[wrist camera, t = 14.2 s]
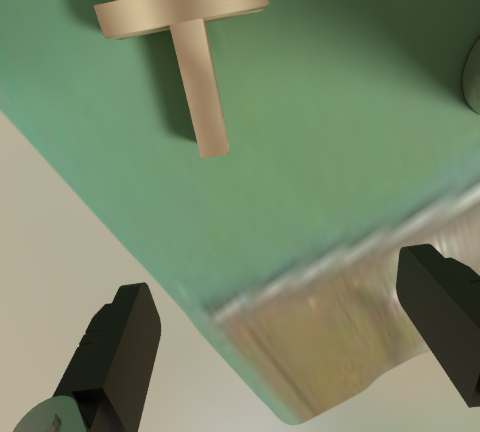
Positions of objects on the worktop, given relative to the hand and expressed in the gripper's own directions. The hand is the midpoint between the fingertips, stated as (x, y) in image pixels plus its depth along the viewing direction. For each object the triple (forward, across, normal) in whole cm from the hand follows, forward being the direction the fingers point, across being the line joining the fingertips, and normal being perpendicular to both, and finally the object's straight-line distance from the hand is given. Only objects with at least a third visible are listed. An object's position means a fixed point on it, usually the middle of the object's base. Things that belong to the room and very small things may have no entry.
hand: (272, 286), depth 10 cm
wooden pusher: (+23, +3, -5) cm, 24 cm away
